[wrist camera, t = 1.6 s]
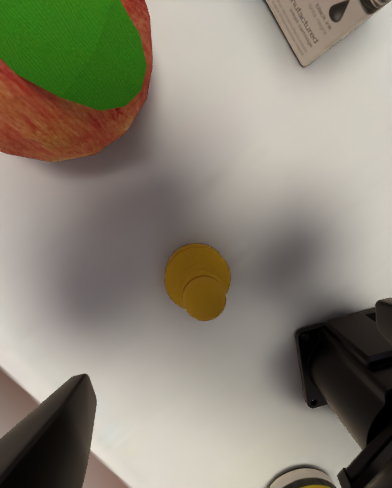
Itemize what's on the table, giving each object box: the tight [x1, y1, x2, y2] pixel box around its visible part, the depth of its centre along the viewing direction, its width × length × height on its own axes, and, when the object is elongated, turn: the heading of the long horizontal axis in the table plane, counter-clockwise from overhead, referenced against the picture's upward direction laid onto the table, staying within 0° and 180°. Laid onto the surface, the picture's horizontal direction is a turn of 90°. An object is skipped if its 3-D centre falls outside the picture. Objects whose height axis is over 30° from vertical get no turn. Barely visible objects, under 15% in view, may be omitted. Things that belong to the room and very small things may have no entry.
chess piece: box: [165, 243, 231, 321], centre depth 14 cm, size 4×4×5 cm
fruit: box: [0, 0, 153, 162], centre depth 9 cm, size 9×10×10 cm
